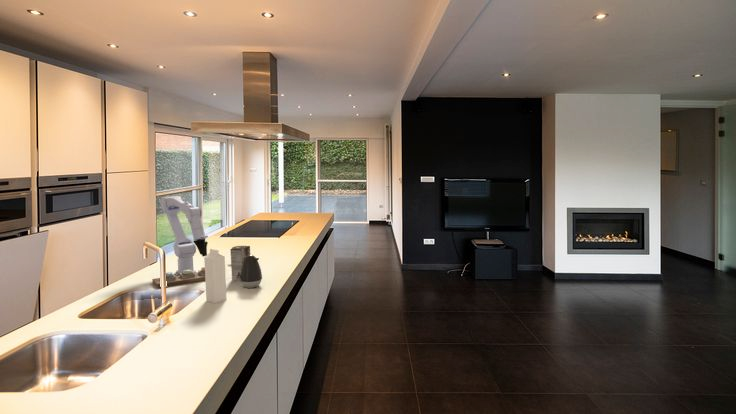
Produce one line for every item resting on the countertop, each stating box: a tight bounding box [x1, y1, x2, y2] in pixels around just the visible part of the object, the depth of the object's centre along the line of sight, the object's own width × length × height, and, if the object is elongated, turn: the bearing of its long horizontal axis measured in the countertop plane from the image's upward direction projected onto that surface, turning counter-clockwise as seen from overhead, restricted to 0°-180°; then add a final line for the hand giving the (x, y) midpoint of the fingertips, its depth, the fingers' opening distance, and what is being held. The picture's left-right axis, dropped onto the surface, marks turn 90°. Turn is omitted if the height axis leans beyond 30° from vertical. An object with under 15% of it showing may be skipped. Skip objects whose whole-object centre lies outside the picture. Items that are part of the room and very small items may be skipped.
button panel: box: [151, 269, 205, 289], centre depth 221 cm, size 12×30×4 cm, turn 127°
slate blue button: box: [165, 271, 174, 278], centre depth 216 cm, size 4×4×2 cm
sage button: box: [183, 270, 192, 275], centre depth 221 cm, size 4×4×2 cm
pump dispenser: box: [240, 254, 263, 289], centre depth 208 cm, size 10×10×15 cm
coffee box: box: [230, 245, 251, 282], centre depth 224 cm, size 9×6×16 cm
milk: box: [203, 248, 227, 304], centre depth 187 cm, size 6×6×22 cm
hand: (203, 255), depth 224 cm, fingers open, 7 cm apart
